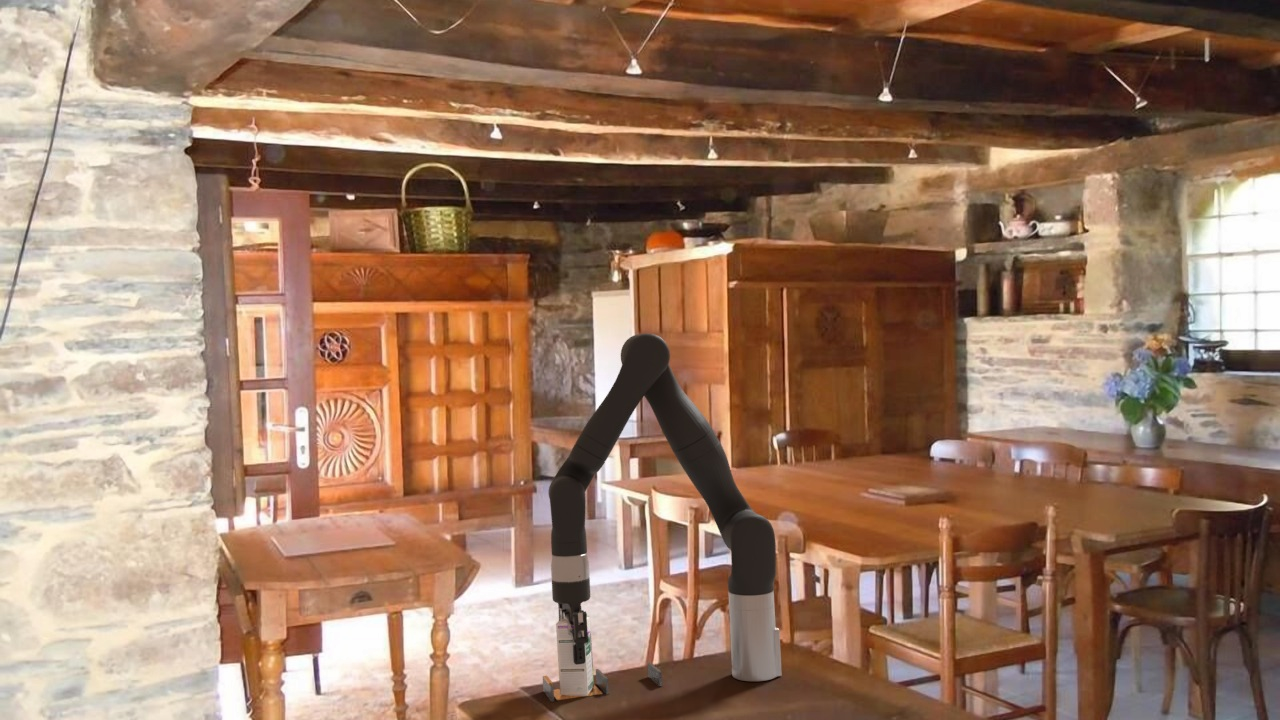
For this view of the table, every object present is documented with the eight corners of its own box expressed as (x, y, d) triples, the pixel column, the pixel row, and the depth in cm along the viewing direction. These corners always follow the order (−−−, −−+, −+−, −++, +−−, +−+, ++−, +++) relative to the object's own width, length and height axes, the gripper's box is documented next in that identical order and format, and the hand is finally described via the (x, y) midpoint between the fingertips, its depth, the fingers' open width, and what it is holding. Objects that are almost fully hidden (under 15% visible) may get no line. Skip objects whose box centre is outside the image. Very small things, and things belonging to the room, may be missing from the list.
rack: (650, 676, 221) (649, 660, 221) (662, 686, 214) (661, 669, 214) (542, 691, 215) (541, 674, 215) (551, 702, 207) (550, 684, 207)
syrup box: (588, 696, 209) (584, 621, 210) (558, 696, 210) (555, 621, 211) (594, 687, 215) (591, 614, 215) (565, 687, 216) (562, 614, 216)
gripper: (598, 580, 207) (602, 665, 207) (580, 568, 221) (583, 647, 221) (560, 584, 205) (564, 670, 205) (544, 572, 219) (547, 652, 218)
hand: (574, 658), depth 213 cm, fingers open, 8 cm apart
